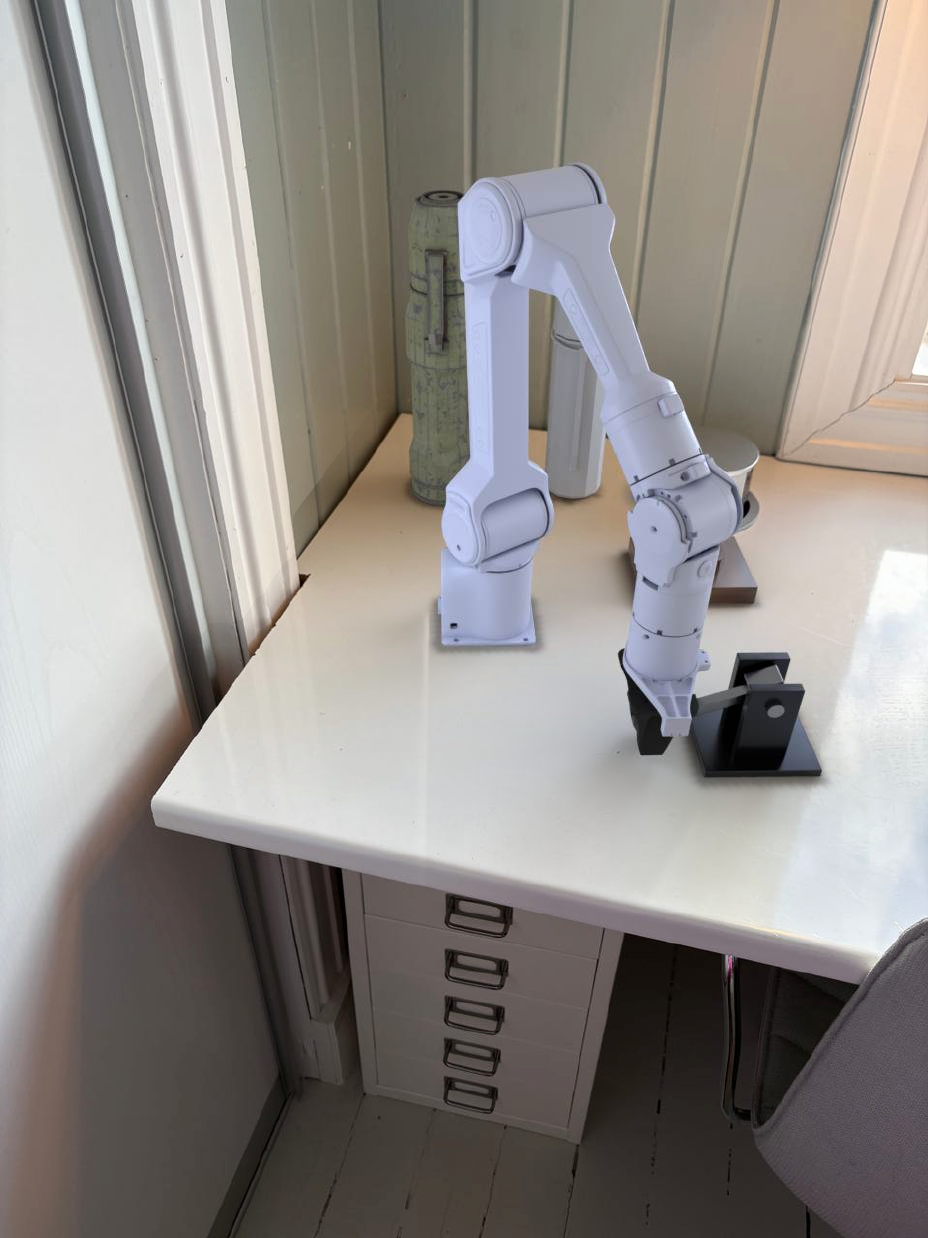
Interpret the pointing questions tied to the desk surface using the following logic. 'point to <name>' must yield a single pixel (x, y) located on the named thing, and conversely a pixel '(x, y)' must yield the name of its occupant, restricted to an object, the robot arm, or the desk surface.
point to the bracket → (756, 728)
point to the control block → (724, 575)
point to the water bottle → (573, 416)
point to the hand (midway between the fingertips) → (647, 737)
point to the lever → (736, 691)
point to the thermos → (436, 346)
